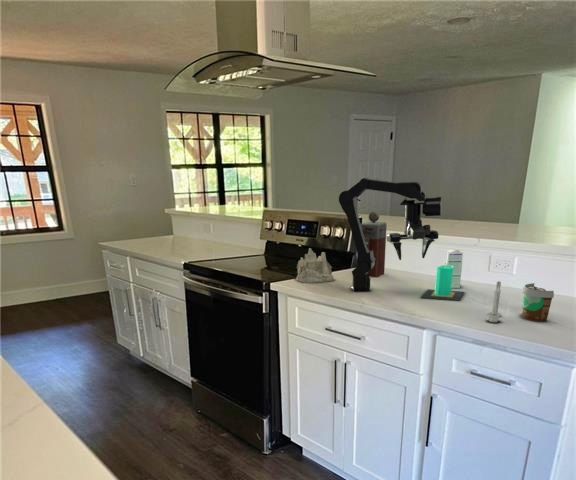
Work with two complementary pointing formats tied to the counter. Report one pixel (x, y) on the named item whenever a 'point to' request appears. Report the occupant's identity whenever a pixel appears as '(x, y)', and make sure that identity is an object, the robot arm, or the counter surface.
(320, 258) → the sand castle
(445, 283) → the candle
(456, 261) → the grey tower
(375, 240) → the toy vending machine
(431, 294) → the mat
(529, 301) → the food container
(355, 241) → the robot arm
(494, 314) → the screw
